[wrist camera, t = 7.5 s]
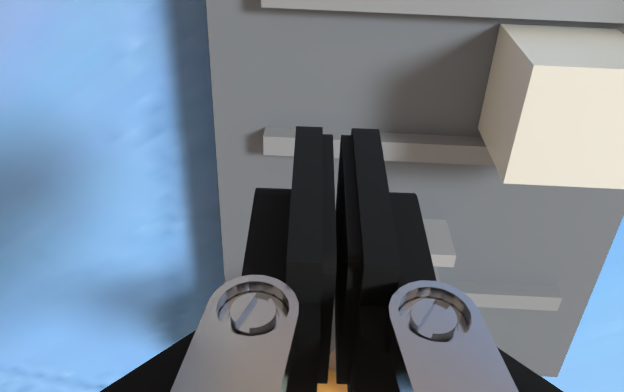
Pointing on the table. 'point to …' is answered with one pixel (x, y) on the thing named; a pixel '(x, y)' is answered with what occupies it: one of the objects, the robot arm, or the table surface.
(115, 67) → the table surface
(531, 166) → the block
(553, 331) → the panel
